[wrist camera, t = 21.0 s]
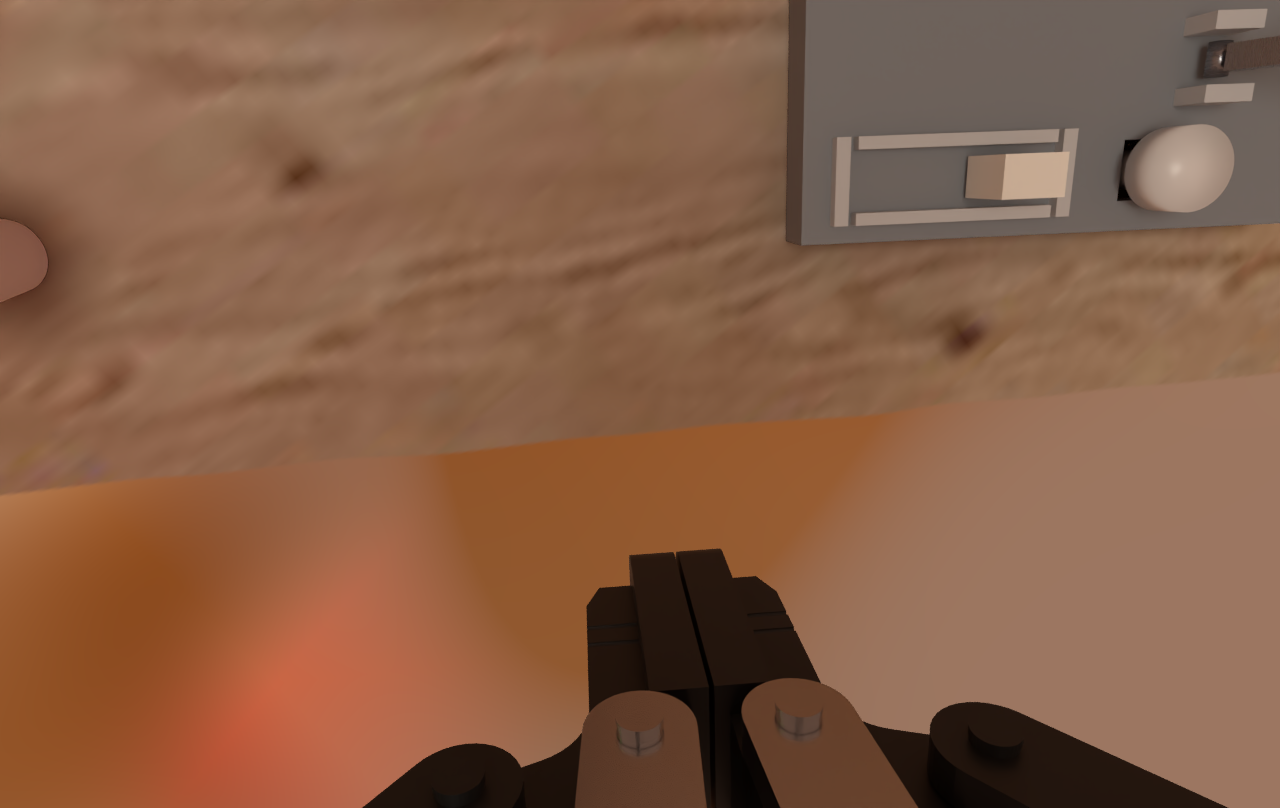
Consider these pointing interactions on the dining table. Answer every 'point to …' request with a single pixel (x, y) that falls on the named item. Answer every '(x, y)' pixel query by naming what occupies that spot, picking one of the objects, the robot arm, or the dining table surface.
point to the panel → (1013, 112)
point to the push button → (1178, 168)
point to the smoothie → (20, 259)
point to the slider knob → (1017, 176)
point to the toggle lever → (1241, 56)
